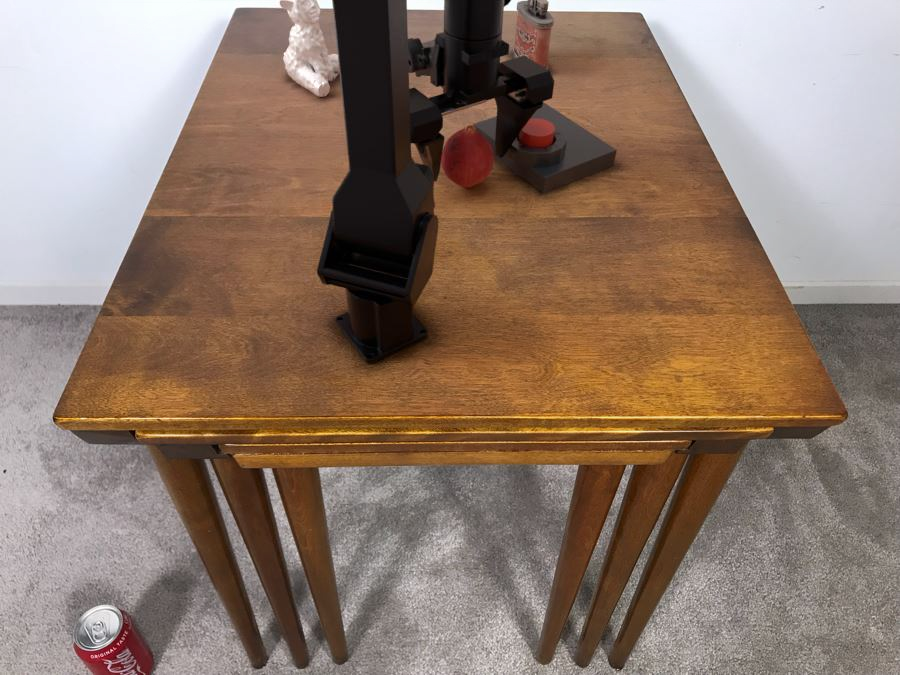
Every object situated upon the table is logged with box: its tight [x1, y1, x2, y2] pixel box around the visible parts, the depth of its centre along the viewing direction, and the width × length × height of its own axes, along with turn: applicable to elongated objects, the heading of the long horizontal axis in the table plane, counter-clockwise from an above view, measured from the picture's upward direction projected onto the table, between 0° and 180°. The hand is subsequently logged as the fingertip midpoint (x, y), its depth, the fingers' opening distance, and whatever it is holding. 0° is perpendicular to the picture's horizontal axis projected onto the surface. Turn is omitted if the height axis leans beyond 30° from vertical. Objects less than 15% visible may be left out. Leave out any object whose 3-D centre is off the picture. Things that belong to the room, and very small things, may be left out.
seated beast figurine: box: [279, 0, 340, 98], centre depth 96 cm, size 10×9×12 cm
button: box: [519, 119, 555, 148], centre depth 82 cm, size 4×4×2 cm
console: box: [474, 101, 618, 194], centre depth 86 cm, size 14×12×4 cm
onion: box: [440, 122, 495, 189], centre depth 79 cm, size 6×6×8 cm
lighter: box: [512, 0, 555, 70], centre depth 101 cm, size 8×3×10 cm, turn 22°
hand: (466, 167), depth 81 cm, fingers open, 9 cm apart
